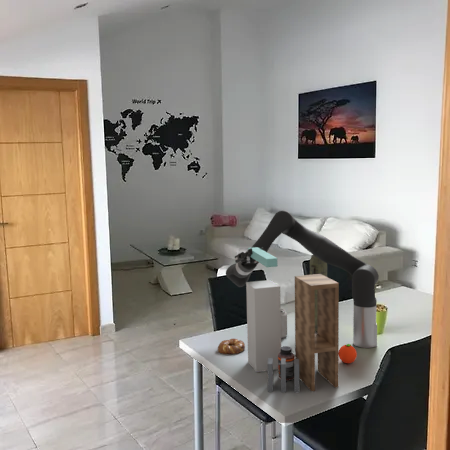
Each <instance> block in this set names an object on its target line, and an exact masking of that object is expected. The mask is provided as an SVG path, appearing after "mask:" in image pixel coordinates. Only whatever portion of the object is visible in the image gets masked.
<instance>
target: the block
mask: <svg viewBox="0 0 450 450" xmlns="http://www.w3.org/2000/svg"><path fill="white" fill-rule="evenodd" d="M250 248H251V247H248V248H247V251H248V250H249V249H250ZM252 252H253V254H252V255H251V256H250V257H251V258H253V259H255V260H256V261H258V262H259V263H258V264H261V265H263V266H264V267H266V268H274V267H275V268H276V267H278V257H276V256H274V255H272V254H271V253H269V252H268V251H267V252H265V251H264V250H262V249H260V248H258V247H255V248H252Z"/></svg>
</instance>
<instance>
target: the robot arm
mask: <svg viewBox="0 0 450 450" xmlns="http://www.w3.org/2000/svg"><path fill="white" fill-rule="evenodd" d="M281 234H283V235H284V236H287V237H288V238H290V239H292V240H294V241H296V242H297V243H299V244H300V245H301V246H302V247H303V248H304V249H305V250H307V251H308V252H309V253H311V255H314V256H316V257H317V258H319V259H320V260H322V261H324V262H325V263H327V265H330V266H333V267H336V268H338V269H341V270H343V271H345V272H347V273H348V274H350V276H351V293H352V294H351V297H352V300H353V306H352V307H353V308H352V309H353V310H352V311H353V314H352V315H353V317H352V320H353V323H352V324H353V327H352V328H353V329H352V333H353V334H352V336H353V337H352V342H353V343H352V344H353V345H354V346H355V347H358V348H366V349H370V348H374V347H376V348H377V347H378V323H377V298H376V290H375V289H376V287H375V286H376V283H378V281H379V272H378V271H377V269H376V268H375V267H374V266H372V265H370V264H369V263H367V262H364V261H362V260H361V259H359V258H357V257H355V256H354V255H352V254H350V253H349V252H348V251H346V250H345V249H344V248H343V247H341V246H339V245H337V244H336V243H335V242H333V241H332V240H330V239H328V238H327V237H326V236H324V235H322V234H321V233H318V232H316V231H315V230H311V229H309V228H308V227H306V226H304V225H303V224H301V223H300V222H299V221H298V220H297V219H295V218H294V216H293V215H292V214H291V213H290V212H289V211H288V210H284V209H283V210H279V211H277V212H276V213H275V214H274V215H273V217H272V218H271V220H270V222H269V223H268V225H267V227H266V228H264V231H263V233H262V234H261V235H260V236H259V237H258V239H257V240H256V241H255V242H254V244H253V245H252V246H251V247H249V248H250V249H249V250H248V249H247V251H245V252H244V251H241V252H240V253H238V254H236V255H235V256H234V261H235V262H234V263H232V264H231V265H229V266H228V267H227V268H226V270H225V275H226V277H227V278H228V279H229V280H230V281H231V282H232V283H233V284H234V285H235V286H236V287H238V288H243V287H244V286H246V282H249V279H250V277H251V274H253V271H254V270H255V269H256V268H257V265H258V264H260V263H259V262H258V261H256V260H255V259H253V258H251V257H250V256H251V255H252V254H253V252H252V248H255V247H258V248H260V249H262V250H264V251H265V252H267V253H268V251H269V250H270V248H271V246H272V245H273V243H275V241H276V240H277V238H278V237H279V236H280V235H281Z"/></svg>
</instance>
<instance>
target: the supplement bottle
mask: <svg viewBox="0 0 450 450" xmlns="http://www.w3.org/2000/svg"><path fill="white" fill-rule="evenodd" d="M281 358H286V382H287V381H293V380H294V359H295V353H294V352H293V350H292V347H291V346H289V345H283V346H281V352H280V353H279V354H278V369H277V371H278V372H277V373H278V374H277V375H278V379H280V380H281Z"/></svg>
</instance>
